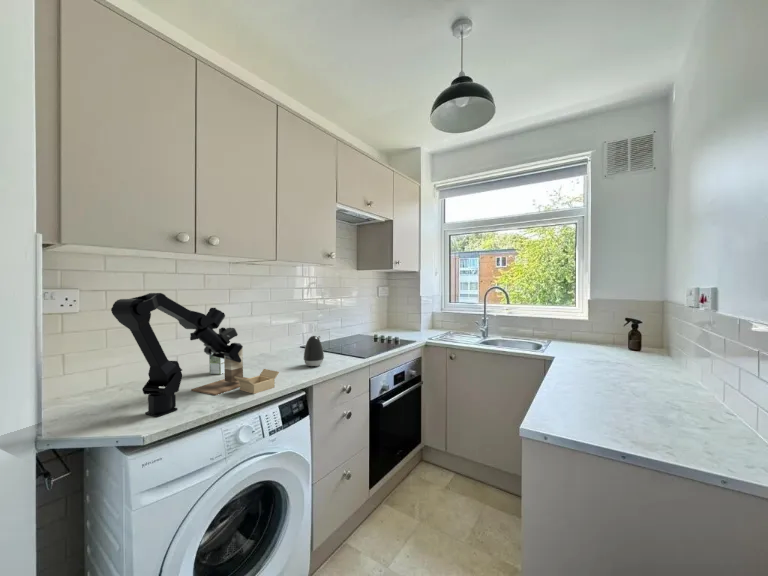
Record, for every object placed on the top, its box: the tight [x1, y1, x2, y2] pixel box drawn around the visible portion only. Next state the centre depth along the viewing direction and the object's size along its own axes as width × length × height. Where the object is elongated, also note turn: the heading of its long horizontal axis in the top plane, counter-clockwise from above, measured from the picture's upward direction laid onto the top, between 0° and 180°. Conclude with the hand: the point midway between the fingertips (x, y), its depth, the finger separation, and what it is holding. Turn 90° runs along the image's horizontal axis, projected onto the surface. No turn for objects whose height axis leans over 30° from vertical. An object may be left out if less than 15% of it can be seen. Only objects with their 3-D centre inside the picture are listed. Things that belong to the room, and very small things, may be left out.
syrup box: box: [208, 352, 225, 375], centre depth 149 cm, size 6×6×14 cm
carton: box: [234, 368, 280, 395], centre depth 125 cm, size 14×9×6 cm, turn 147°
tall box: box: [224, 348, 244, 382], centre depth 130 cm, size 5×5×14 cm
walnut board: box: [190, 376, 249, 396], centre depth 129 cm, size 20×14×1 cm
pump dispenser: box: [303, 335, 325, 367], centre depth 161 cm, size 10×10×15 cm
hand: (236, 360), depth 131 cm, fingers closed on tall box, 5 cm apart
